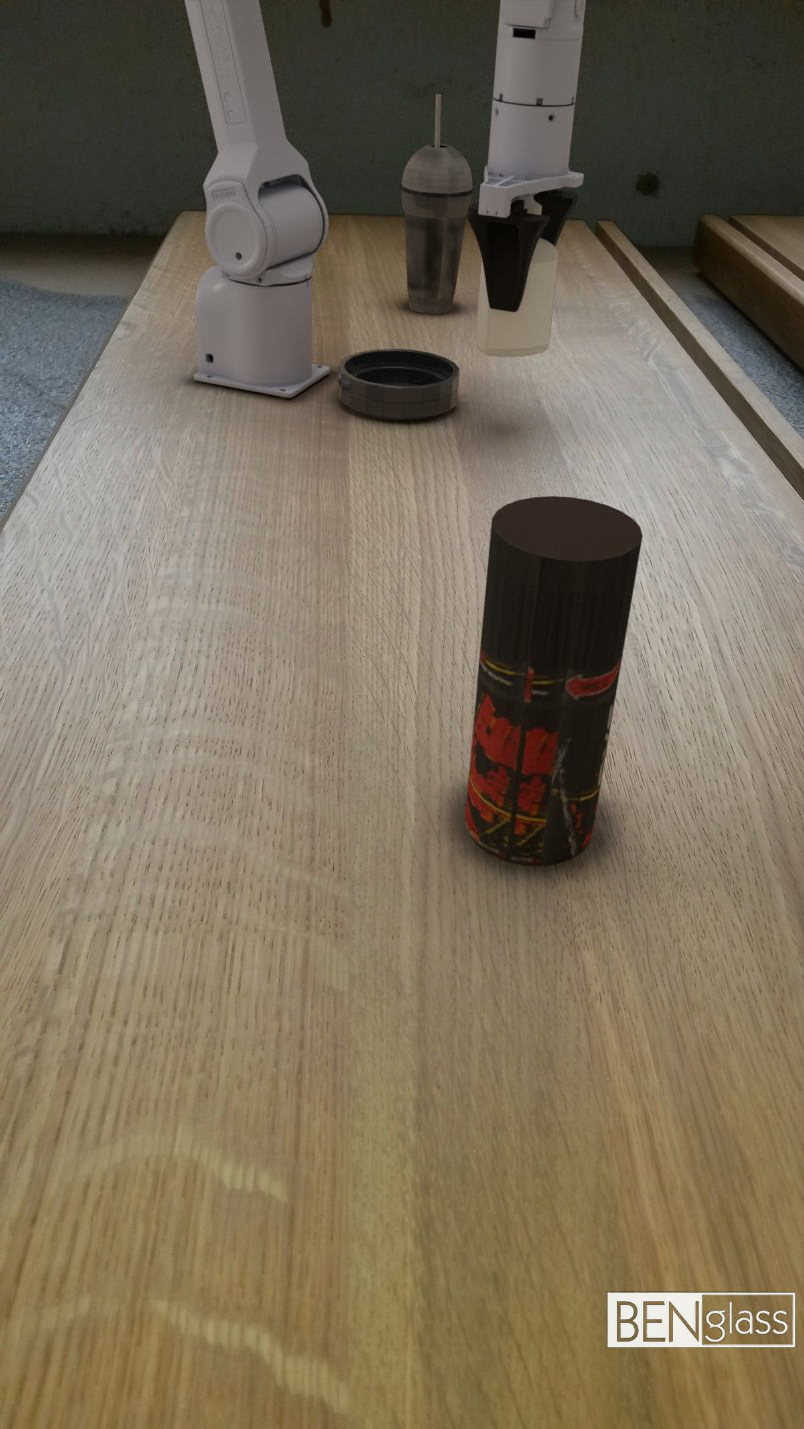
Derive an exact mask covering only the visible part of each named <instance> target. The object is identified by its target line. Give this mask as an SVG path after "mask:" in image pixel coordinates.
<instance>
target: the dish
mask: <svg viewBox="0 0 804 1429" xmlns="http://www.w3.org/2000/svg"><path fill="white" fill-rule="evenodd" d="M460 373H461V369H460V367H459V366H458V365H457V363H456V362H454V361H452V360H451V359H449V358H447V357H445V356H442V355H438V354H435V353H432V352H429V351H428V352H427V351H422V350H416V349H405V348H377V349H370V350H369V349H368V350H362V351H359V352H355V353H351V354H349V355H347V356H346V357H344V358H343V359H340V361H339V364H338V366H337V396H338V398H339V400H340V402H341V404H343V405H344V406H346V407H348V408H350V409H351V410H352V411H354V412H356V413H357V414H360V415H363V416H365V417H369V418H372V419H376V420H377V419H378V420H385V421H391V422H392V421H395V422H413V421H423V420H428V419H432V418H433V419H434V418H435V417H438V416H440V415H442V414H444V413H446V412H448V411H451V410H452V409H453V408H454V407H456V406H457V404H458V399H459V390H460V389H459V387H460V375H461V374H460Z"/></svg>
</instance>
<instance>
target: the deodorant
mask: <svg viewBox="0 0 804 1429" xmlns="http://www.w3.org/2000/svg"><path fill="white" fill-rule="evenodd" d="M642 542H643V532H642V528H641V526H640V525H639V524H638V523H637V522H636V520H635V519H634V518H632V517H631V516H630V515H628V514H627V513H625V512H624V511H622V510H620V509H617V508H615V507H612V506H611V505H608V504H605V503H601V502H598V501H594V500H590V499H585V498H578V497H573V496H558V495H548V496H533V497H528V498H522V499H518V500H514V501H512V502H509V503H506V504H504V505H503V506H502V507H500V508H499V509H498V510H496V511H495V513H494V514H493V516H492V518H491V526H490V536H489V547H488V557H487V570H486V579H485V580H486V581H485V591H484V592H485V593H484V602H483V613H482V614H483V615H482V624H481V625H482V626H481V634H480V635H481V636H480V645H479V658H478V667H477V678H476V688H475V702H474V710H473V711H474V713H473V724H472V733H471V735H472V736H471V744H470V745H471V746H470V757H469V770H468V779H467V789H466V800H465V812H464V818H465V819H464V825H465V827H466V830H467V832H468V835H469V836H470V837H471V839H472V840H473V841H474V842H475V843H476V845H477V846H478V847H480V848H482V849H483V850H484V851H486V852H488V853H489V854H490V855H493V856H495V857H497V858H500V859H502V860H504V861H507V862H511V863H516V864H520V865H530V866H547V865H554V864H559V863H562V862H566V861H568V860H571V859H573V858H574V857H576V856H578V855H579V854H581V853H582V852H583V851H585V849H586V848H587V846H589V844H590V843H591V840H592V837H593V833H594V829H595V822H596V816H597V811H598V805H599V799H600V793H601V786H602V781H603V775H604V768H605V763H606V758H607V757H606V756H607V751H608V744H609V739H610V734H611V726H612V722H613V714H614V709H615V703H616V698H617V690H618V687H619V686H618V684H619V680H620V679H619V678H620V673H621V667H622V663H623V662H622V661H623V655H624V650H625V643H626V637H627V631H628V625H629V620H630V613H631V607H632V602H633V595H634V590H635V584H636V578H637V572H638V565H639V559H640V554H641V547H642Z"/></svg>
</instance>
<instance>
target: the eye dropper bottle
mask: <svg viewBox="0 0 804 1429" xmlns="http://www.w3.org/2000/svg"><path fill="white" fill-rule="evenodd" d="M527 197H528V199H527V200H525V203H524V209H525V208H527V209H528V211H527V213H530V214H537V215H541V210H542V206H541V205H540V204H539V203H537V202H535V200H534V199H533V195H532V196H527ZM558 264H559V253H558V250H557V247H556V246H555V247H554V245H552V244H551V243H550V242H548V241H546V240H544V239H542V238H539V240H538V242H537V245H536V248H535V251H534V253H533V257H532V260H531V263H530V267H529V272H528V276H527V281H526V286H525V290H524V295H523V298H522V301H521V304H520V307H519V309H518V311H516V312H509V311H502V310H496V309H491V308H490V306H489V302H488V296H487V289H486V282H485V274H484V268H483V261H482V260H481V266H480V278H479V279H480V280H479V288H478V289H479V290H478V291H479V292H478V301H477V302H478V304H477V316H476V328H475V330H476V331H475V346H476V349H478V350H479V351H480V352H481V353H482V354H483V355H486V356H488V357H495V358H521V357H529V356H535V355H539V354H543V353H545V352H546V351H548V349H549V347H550V342H551V332H552V324H553V323H552V322H553V314H554V307H555V306H554V304H555V296H556V287H557V286H556V284H557V276H558V267H559V266H558Z"/></svg>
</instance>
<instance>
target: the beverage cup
mask: <svg viewBox="0 0 804 1429" xmlns="http://www.w3.org/2000/svg"><path fill="white" fill-rule="evenodd" d="M441 110H442V95H441V94H435V113H434V115H435V118H434V120H435V121H434V143H430V144H427V145H425V146H423V147H421V148H419V149H418V150H417V151H416V152H415V153H414V154H413V155H412V156H411V157H410V158H409V161H408V162H407V164H406V165H405V168H404V170H403V174H402V179H401V184H400V187H399V189H400V191H401V203H402V210H403V211H404V235H405V260H406V261H405V264H406V288H407V289H406V290H407V291H406V292H407V297H408V308H409V309H410V311H413V312H416V313H419V314H420V313H421V314H427V315H441V314H446V313H449V312H451V311H452V310H453V303H454V298H455V294H456V288H457V281H458V276H459V270H460V261H461V254H462V248H463V242H464V235H465V229H466V221H467V216H468V207H469V206H470V205H471V203H472V195H473V194H474V192H475V191H474V186H473V175H472V171H471V168H470V166H469V163H468V161H467V160H466V158H465V157H464V155H463V154H462V153H461V152H460V151H459V150H458V149H456V148H455V147H453V146H451V145H449V144H446V143H445V144H444V143H441V112H442V111H441Z"/></svg>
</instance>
